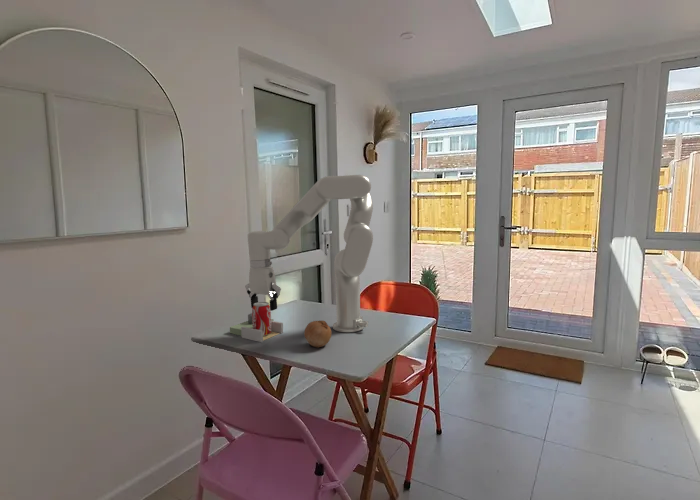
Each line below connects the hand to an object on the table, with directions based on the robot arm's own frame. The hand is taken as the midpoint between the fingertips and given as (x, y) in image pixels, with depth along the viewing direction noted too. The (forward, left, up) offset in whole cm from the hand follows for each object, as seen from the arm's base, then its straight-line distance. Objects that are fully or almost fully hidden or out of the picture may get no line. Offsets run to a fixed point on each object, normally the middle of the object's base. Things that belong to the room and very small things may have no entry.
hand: (264, 308), depth 148 cm
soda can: (+1, +1, -10) cm, 10 cm away
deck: (+5, -2, -10) cm, 12 cm away
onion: (-24, -1, -11) cm, 27 cm away
